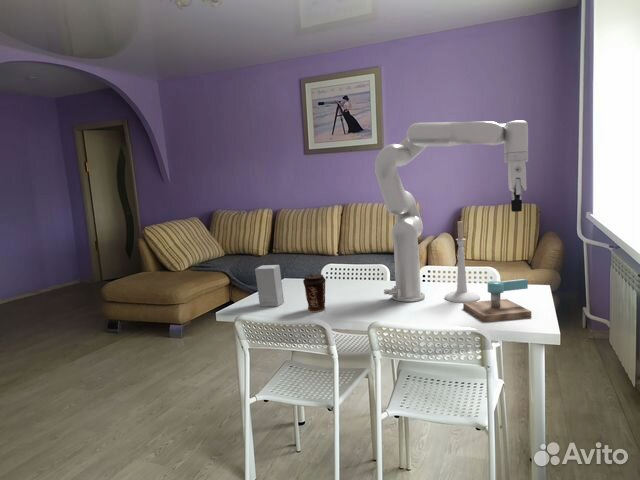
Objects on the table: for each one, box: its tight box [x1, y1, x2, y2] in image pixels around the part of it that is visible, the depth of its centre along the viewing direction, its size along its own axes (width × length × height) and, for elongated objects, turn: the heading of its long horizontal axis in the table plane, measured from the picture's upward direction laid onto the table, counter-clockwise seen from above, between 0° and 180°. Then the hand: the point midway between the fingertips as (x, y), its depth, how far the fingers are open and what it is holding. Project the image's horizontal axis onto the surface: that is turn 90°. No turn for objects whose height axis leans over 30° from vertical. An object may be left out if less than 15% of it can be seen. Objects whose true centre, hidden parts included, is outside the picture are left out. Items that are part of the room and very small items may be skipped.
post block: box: [462, 293, 532, 323], centre depth 156 cm, size 16×16×7 cm
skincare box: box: [254, 264, 285, 307], centre depth 184 cm, size 8×7×16 cm
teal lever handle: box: [487, 278, 529, 294], centre depth 156 cm, size 14×5×3 cm, turn 100°
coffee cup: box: [302, 273, 327, 313], centre depth 172 cm, size 9×8×13 cm
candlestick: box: [444, 220, 481, 304], centre depth 175 cm, size 13×13×30 cm
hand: (516, 211), depth 161 cm, fingers closed
